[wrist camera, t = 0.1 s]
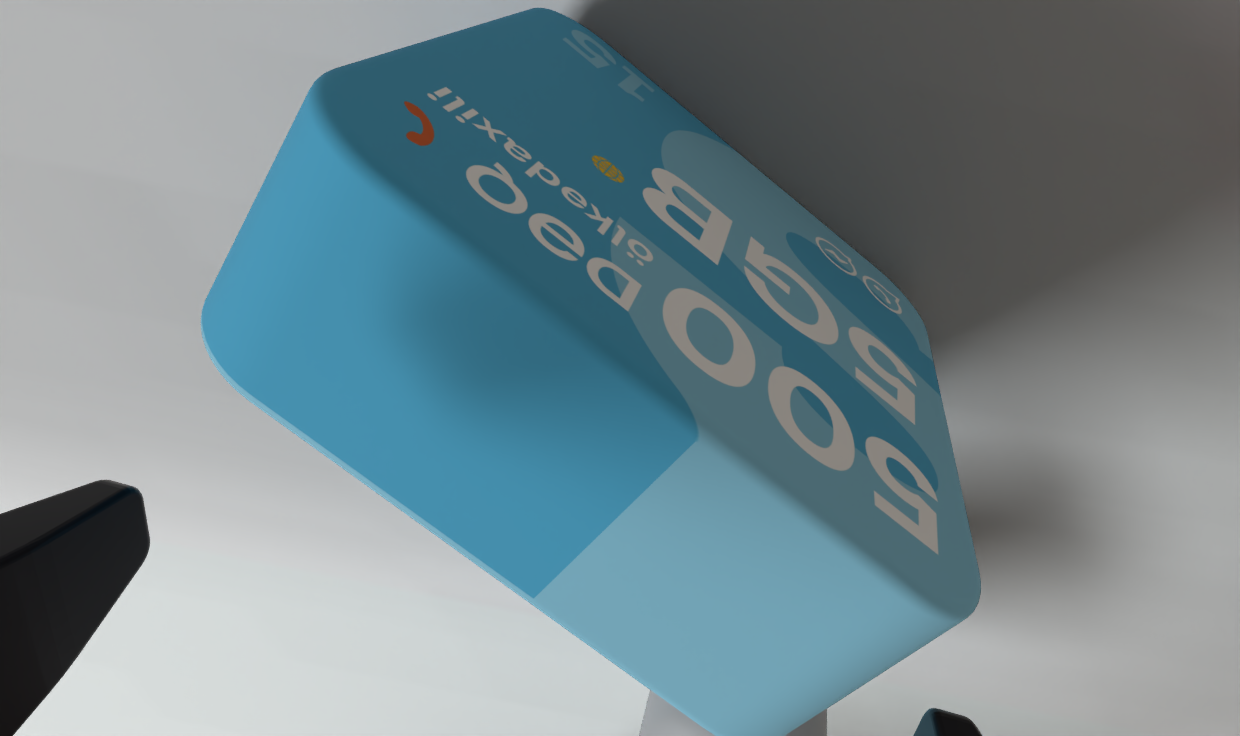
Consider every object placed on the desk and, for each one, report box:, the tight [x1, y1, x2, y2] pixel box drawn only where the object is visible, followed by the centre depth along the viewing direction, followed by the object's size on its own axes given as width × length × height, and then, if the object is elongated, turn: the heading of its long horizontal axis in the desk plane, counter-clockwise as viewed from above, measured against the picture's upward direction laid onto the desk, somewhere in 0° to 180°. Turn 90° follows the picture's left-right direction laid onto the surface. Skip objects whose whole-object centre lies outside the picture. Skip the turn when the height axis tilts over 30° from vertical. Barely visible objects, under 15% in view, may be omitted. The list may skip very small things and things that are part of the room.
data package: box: [201, 8, 981, 736], centre depth 17 cm, size 12×4×12 cm, turn 54°
